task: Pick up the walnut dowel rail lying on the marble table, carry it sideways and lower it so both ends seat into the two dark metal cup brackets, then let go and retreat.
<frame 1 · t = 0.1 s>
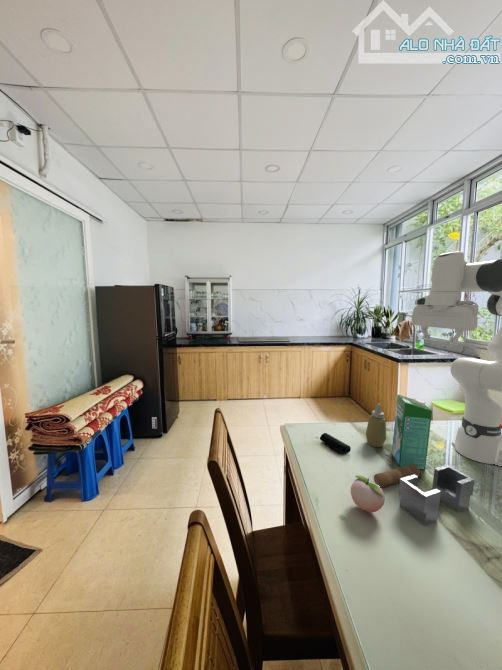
hand: (439, 340, 94), 48 cm above the table, fingers open, 8 cm apart
milk carton: (407, 461, 106), on the table
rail: (396, 480, 94), on the table
bracket b: (417, 512, 79), on the table
squeeze bottle: (375, 444, 118), on the table
bracket a: (449, 501, 85), on the table
decorative fruit: (364, 511, 80), on the table
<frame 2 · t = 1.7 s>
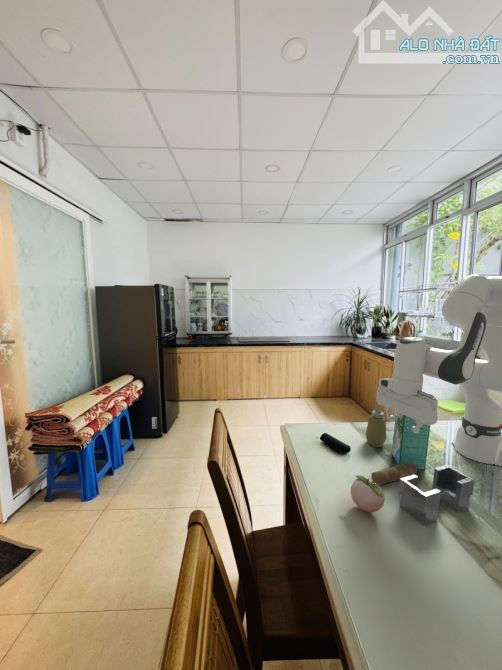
hand: (402, 426, 91), 20 cm above the table, fingers open, 8 cm apart
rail: (396, 479, 94), on the table, tilted 34°
everything else where it was.
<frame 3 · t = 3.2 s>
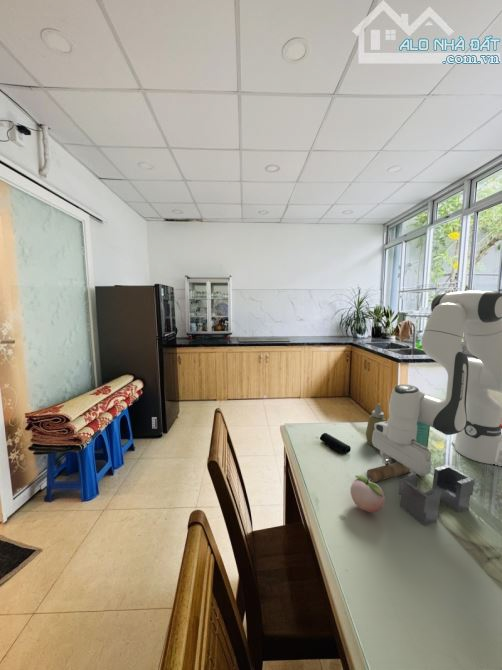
hand: (396, 471, 93), 3 cm above the table, fingers open, 8 cm apart
milk carton: (407, 461, 106), on the table, touching arm
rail: (394, 473, 95), point 2 cm above the table, tilted 102°, touching gripper
everything else where it was.
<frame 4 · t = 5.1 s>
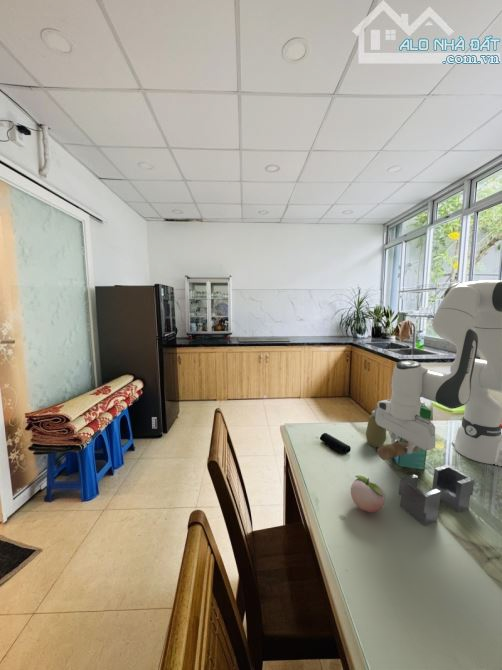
hand: (401, 448, 93), 11 cm above the table, fingers closed on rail, 4 cm apart
milk carton: (407, 461, 106), on the table
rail: (405, 453, 91), point 11 cm above the table, tilted 62°, touching gripper
everything else where it was.
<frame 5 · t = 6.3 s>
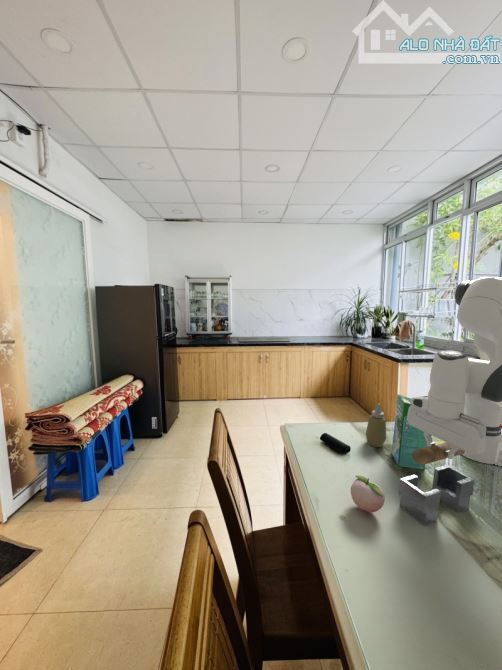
hand: (439, 452, 80), 17 cm above the table, fingers closed on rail, 4 cm apart
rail: (444, 458, 78), point 16 cm above the table, tilted 62°, touching gripper
everything else where it was.
when the fingers open (7 cm above the table, at t = 9.0 s): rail drops 2 cm and tips over, resting on bracket a, bracket b.
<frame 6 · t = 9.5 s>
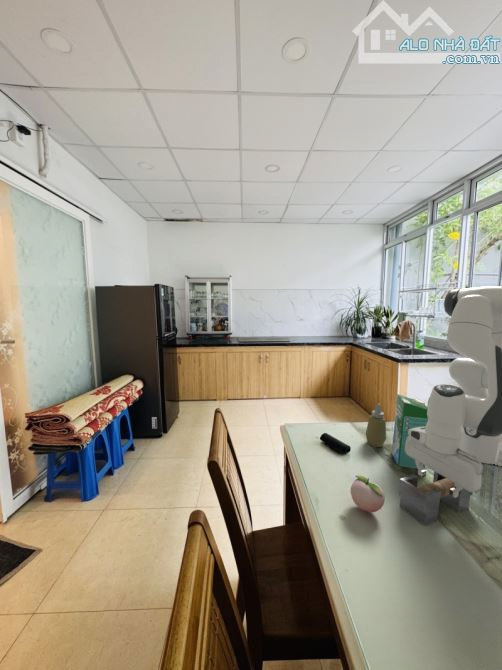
hand: (436, 485, 81), 7 cm above the table, fingers open, 8 cm apart
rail: (442, 497, 80), point 5 cm above the table, tilted 46°, touching bracket a, bracket b
everything else where it was.
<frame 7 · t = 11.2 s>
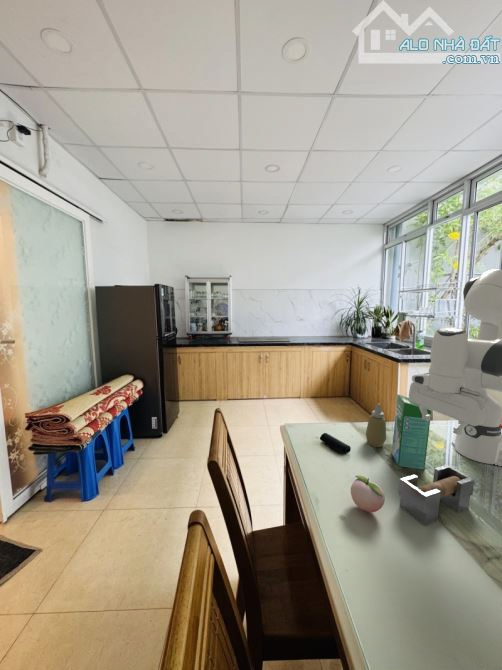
hand: (440, 426, 83), 24 cm above the table, fingers open, 8 cm apart
nothing on the table moved.
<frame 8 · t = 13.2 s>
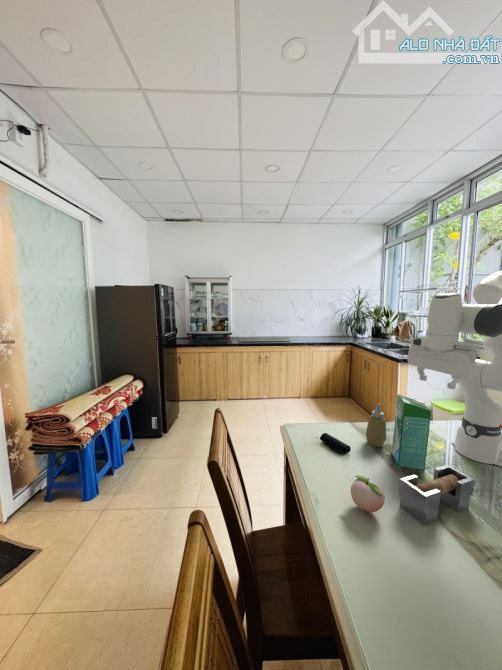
hand: (436, 384, 91), 34 cm above the table, fingers open, 8 cm apart
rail: (441, 494, 80), point 5 cm above the table, tilted 69°, touching bracket a, bracket b
everything else where it was.
at the end: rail 1.6 cm from the target spot, point 5.3 cm above the table; the gripper is holding nothing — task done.
